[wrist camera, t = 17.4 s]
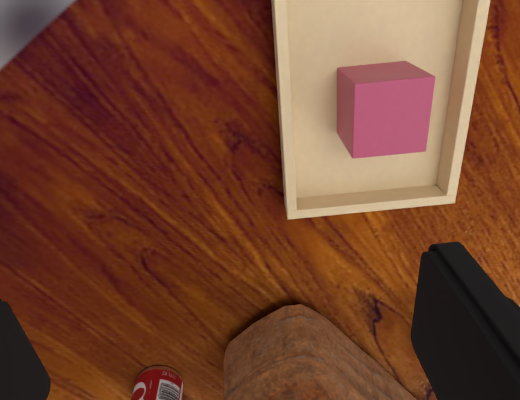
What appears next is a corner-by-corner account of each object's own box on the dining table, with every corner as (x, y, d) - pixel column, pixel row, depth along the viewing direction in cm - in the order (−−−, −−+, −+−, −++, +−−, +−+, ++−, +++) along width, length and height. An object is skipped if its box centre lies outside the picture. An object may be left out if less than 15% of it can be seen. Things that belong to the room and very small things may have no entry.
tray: (269, -30, 26) (272, -30, 24) (477, -50, 26) (500, -53, 24) (284, 203, 35) (287, 219, 33) (441, 188, 35) (455, 203, 33)
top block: (336, 67, 29) (354, 83, 25) (406, 60, 29) (436, 75, 24) (336, 133, 31) (351, 159, 27) (400, 127, 31) (426, 152, 27)
